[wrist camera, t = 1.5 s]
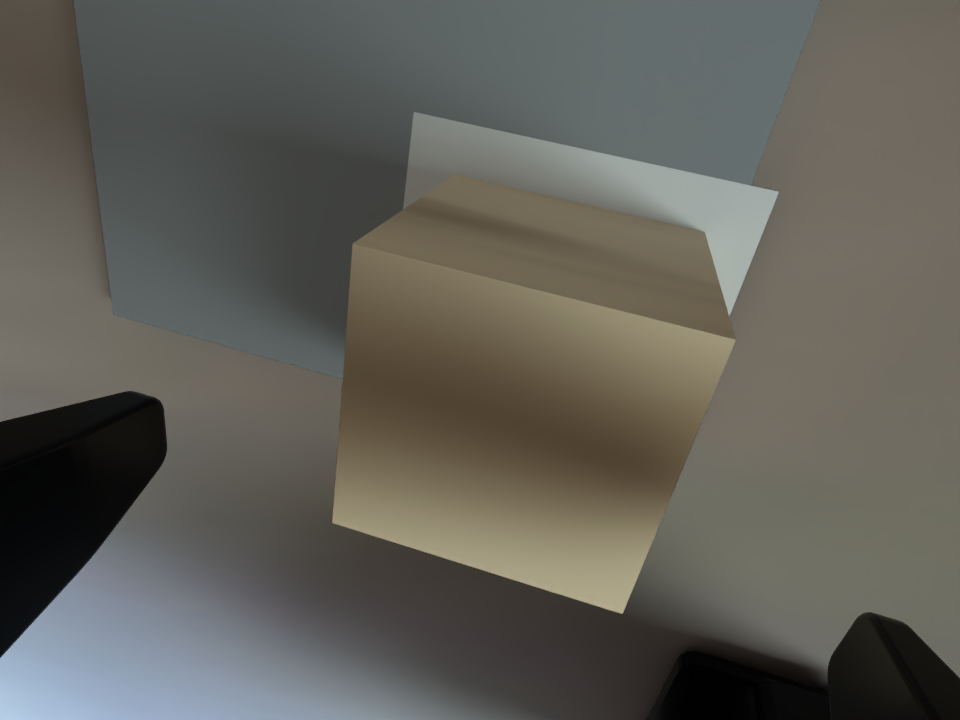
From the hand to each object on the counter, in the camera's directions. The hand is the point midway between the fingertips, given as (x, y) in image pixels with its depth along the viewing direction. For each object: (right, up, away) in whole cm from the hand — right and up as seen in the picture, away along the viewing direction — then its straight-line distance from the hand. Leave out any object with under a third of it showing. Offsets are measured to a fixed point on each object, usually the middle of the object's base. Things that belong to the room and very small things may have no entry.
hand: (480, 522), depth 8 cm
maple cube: (+1, +3, +6) cm, 7 cm away
